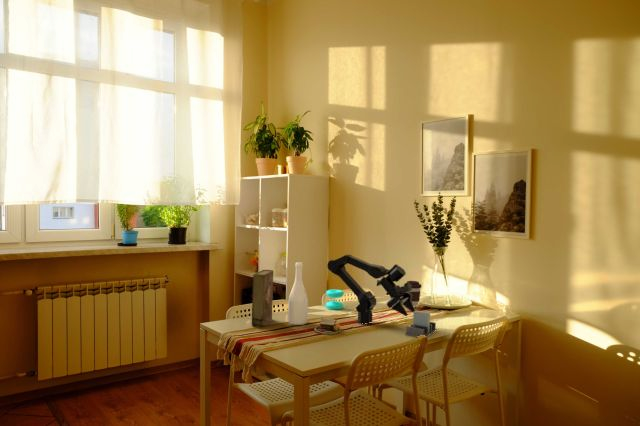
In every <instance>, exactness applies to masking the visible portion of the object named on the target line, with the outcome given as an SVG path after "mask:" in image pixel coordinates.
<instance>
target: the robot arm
mask: <svg viewBox="0 0 640 426" xmlns="http://www.w3.org/2000/svg"><path fill="white" fill-rule="evenodd" d="M346 265H351V266H353V267H355V268H357V269H360V270H362V271H365V272H366V273H367V274H368V275H369V276H370V277H372V278H373V279H375V280H376V287H379V286H381V287H382V288H383V289H384V290H385V292H386V294H385V295H387V296H389V297H390V299H389V300H388V301H387V302H386V306H387V307H388V309H391V310H394V311H396V312H398V313H399V314H402V315H403V316H405V317H407V316H409V315H408V312H407V310H406V309H408V310H409V311H411V312H412V314H414V311H416V308H414V307H413V304H412V301H411V300H412V293H411V292H408V291H411V290H412V288H411V287H412V285H411V284H409V283H407V282H405V283H404V284H403V285H402V286H400V285H397V284H396V283H397V282H399V281H400V280H401V279H402V278H403V277H404V276H406V274H407V272H406V271H405V269H404V268H402V267H401V266H400V265H398V264H397V263H396V264H394V265H393V266H392V267H391V268H390V269H387V268H386V267H385V266H383V265H379V264H373V263H370V262H367V261H365V260H362V259H360V258H358V257H355V256H353V255H352V254H345V255H343V256H341V257H339V258H336V259H331V260H329V261H328V262H327V266H326V267H327V270H328V271H330V272H331V273H332V274H333V275H335V276H338V277H339V278H340V280H341V281H342V282H343V283H344V284H345V285H346V286H347V288H349V289H350V291H352V292H353V294H354V295H355V296H356V297H357V301H358V303H359V304H358V305H357V306H356V307H355V309H356V312H357V320H356V321H357V322H356V323H358V322H359V323H358V324H360V323H361V324H360V325H366V324H365V323H369V322H373V313H372V311H373V309H374V308H375V307H376V305H377V299H376V296H375V295H374V294H373V293H372V291H370V290H368V291H365V289H364V288H362V287H361V285H360V284H359V283H358V282H357V281H356V279H354V278H353V276H351V274H350V273H349V272H348V271H347V270H346ZM377 279H380V280H377ZM362 323H363V324H362Z"/></svg>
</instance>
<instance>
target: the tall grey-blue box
mask: <svg viewBox="0 0 640 426" xmlns="http://www.w3.org/2000/svg"><path fill="white" fill-rule="evenodd" d="M412 317H413V319H412V320H413V321H412V324H414V325H420V326H426V327H428V332H429V329H430V322H431V312H429V311H423V310H422V311H421V310H416V309H415V311H414V313H413V316H412Z"/></svg>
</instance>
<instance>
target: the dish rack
mask: <svg viewBox="0 0 640 426" xmlns="http://www.w3.org/2000/svg"><path fill="white" fill-rule="evenodd" d="M436 324H437V323H436V322H432V321H430V329H429V332H428V327H426V326H420V325H414V324H413V323H411V324H410V326H408V325H407V326H406V327H405V329H406V331H405V333H404V335H405V336H407V337H408V336H409V337H414V338H418V337H417V336H420V335H425V336H427V337H429V336H430V335H432V334H433V332H434V331H435V330H436V331H437V328H436V327H437V325H436ZM436 331H435V332H436ZM435 332H434V333H435ZM431 333H432V334H431ZM429 334H430V335H429ZM428 335H429V336H428Z"/></svg>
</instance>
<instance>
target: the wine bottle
mask: <svg viewBox="0 0 640 426" xmlns="http://www.w3.org/2000/svg"><path fill="white" fill-rule="evenodd" d="M303 267H304V264H303V262H301V261H300V262H299V261H298V262H295V276H294V277H295V278H294V282H293V285H292V287H291V291H290V293H289V296H288V305H287V306H288V307H287V308H288V309H287V310H288V311H287V321H288V324H290V325H293V326H294V325H295V326H302V325H305V324H307V322H308V309H309V307H308V306H309V305H308V303H309V300H308V295H307V292H306V288H305V285H304V282H303Z"/></svg>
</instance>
